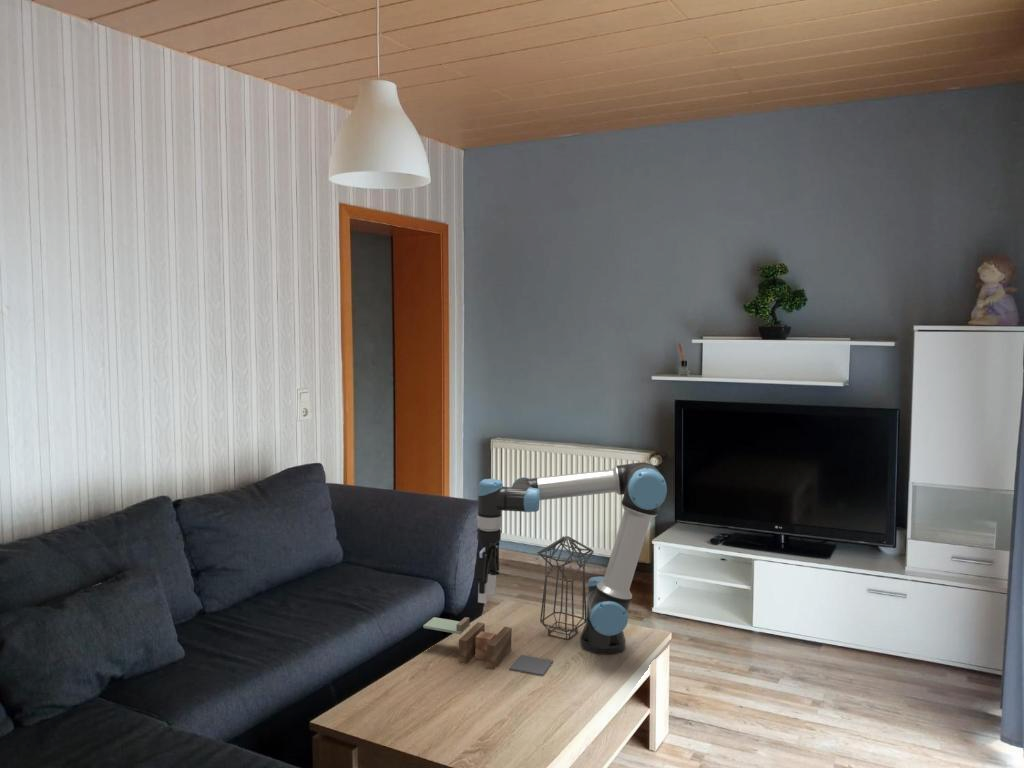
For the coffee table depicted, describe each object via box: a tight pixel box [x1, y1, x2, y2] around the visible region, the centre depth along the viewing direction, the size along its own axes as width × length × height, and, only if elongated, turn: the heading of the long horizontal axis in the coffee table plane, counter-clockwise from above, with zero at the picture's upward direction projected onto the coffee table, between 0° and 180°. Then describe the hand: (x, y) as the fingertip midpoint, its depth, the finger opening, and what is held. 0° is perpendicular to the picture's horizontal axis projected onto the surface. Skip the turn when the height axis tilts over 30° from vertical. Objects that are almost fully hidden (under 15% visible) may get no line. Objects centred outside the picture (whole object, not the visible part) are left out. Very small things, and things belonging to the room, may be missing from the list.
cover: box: [422, 616, 471, 635], centre depth 267 cm, size 13×8×3 cm, turn 71°
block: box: [474, 631, 497, 661], centre depth 263 cm, size 5×5×7 cm
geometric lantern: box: [536, 535, 595, 640], centre depth 282 cm, size 16×16×35 cm
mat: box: [508, 654, 554, 677], centre depth 257 cm, size 11×11×1 cm
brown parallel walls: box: [457, 621, 513, 670], centre depth 263 cm, size 12×16×8 cm
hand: (487, 598), depth 262 cm, fingers open, 7 cm apart
